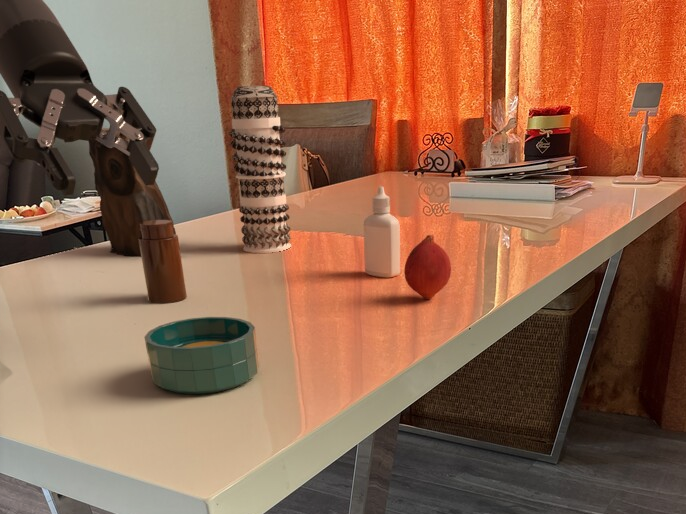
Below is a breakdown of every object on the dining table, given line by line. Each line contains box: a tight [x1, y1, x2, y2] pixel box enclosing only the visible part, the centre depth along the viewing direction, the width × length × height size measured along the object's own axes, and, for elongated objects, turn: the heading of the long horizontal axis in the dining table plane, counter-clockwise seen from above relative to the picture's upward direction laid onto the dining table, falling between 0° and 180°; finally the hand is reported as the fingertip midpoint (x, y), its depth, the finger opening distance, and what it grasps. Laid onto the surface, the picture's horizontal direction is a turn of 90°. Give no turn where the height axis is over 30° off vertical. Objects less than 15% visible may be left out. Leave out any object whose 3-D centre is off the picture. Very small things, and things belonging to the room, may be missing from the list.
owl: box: [87, 127, 177, 257], centre depth 123 cm, size 13×13×20 cm
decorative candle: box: [228, 85, 292, 254], centre depth 120 cm, size 9×9×25 cm
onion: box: [403, 233, 452, 300], centre depth 89 cm, size 6×6×8 cm
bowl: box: [144, 316, 260, 395], centre depth 67 cm, size 10×10×4 cm
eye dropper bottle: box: [363, 185, 401, 279], centre depth 102 cm, size 4×6×12 cm
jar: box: [138, 220, 188, 304], centre depth 94 cm, size 5×5×10 cm
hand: (113, 184), depth 68 cm, fingers open, 8 cm apart
